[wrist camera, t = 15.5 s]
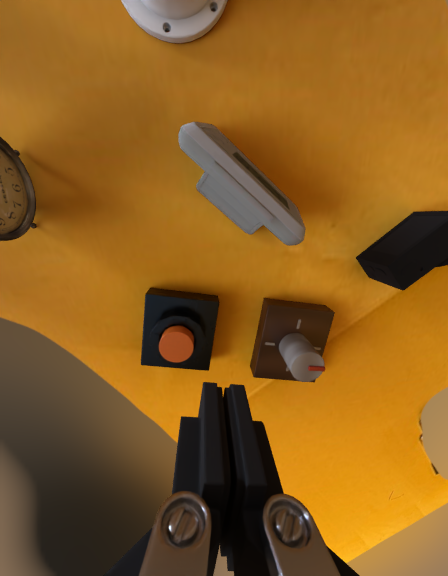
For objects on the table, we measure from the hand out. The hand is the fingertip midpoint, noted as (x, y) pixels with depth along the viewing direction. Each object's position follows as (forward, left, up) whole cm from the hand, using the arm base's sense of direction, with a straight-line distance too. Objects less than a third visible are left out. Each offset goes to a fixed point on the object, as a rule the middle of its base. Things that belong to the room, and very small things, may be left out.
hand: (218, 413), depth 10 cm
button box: (+9, -3, -27) cm, 29 cm away
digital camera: (-7, +27, -27) cm, 39 cm away
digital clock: (-12, +3, -27) cm, 30 cm away
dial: (+9, +14, -24) cm, 29 cm away
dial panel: (+9, +14, -27) cm, 32 cm away
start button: (+9, -3, -22) cm, 24 cm away
